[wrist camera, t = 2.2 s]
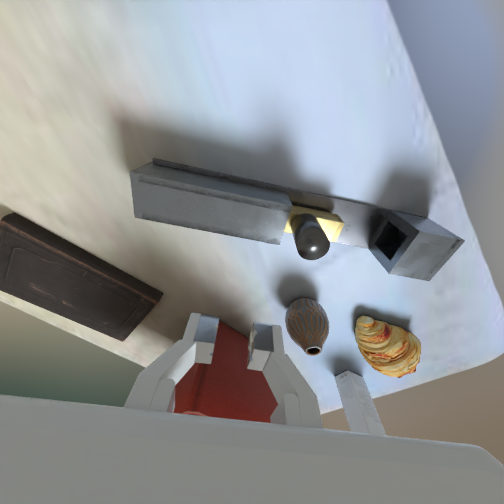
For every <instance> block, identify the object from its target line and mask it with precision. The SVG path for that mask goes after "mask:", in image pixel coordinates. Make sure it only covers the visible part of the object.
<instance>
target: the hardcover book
mask: <svg viewBox="0 0 504 504" xmlns="http://www.w3.org/2000/svg"><path fill="white" fill-rule="evenodd" d="M0 290H1V291H3V292H6V293H8V294H11V295H13V296H15V297H18V298H20V299H22V300H25V301H27V302H30V303H32V304H34V305H37V306H39V307H41V308H44V309H46V310H49V311H51V312H53V313H56V314H58V315H60V316H63V317H65V318H68V319H70V320H72V321H75V322H77V323H80V324H82V325H84V326H87V327H89V328H91V329H94V330H96V331H99V332H101V333H103V334H106V335H108V336H110V337H113V338H115V339H118V340H120V341H122V342H123V341H124V340H125V339H126V338H127V337H128V336H129V334H130V333H131V332H132V331H133V330H134V329H135V328H136V327H137V326H138V324H139V323H140V322H141V321H142V320H143V319H144V318H145V317H146V315H147V314H148V313H149V312H150V311H151V310H152V309H153V308H154V306H155V305H156V304H157V303H158V302H159V300H160V299H161V297H162V295H163V293H162V292H160V291H158V290H156V289H155V288H153V287H151V286H149V285H147V284H145V283H144V282H142V281H140V280H138V279H136V278H134V277H132V276H131V275H129V274H127V273H125V272H123V271H121V270H119V269H118V268H116V267H114V266H112V265H110V264H108V263H107V262H105V261H103V260H101V259H99V258H97V257H95V256H94V255H92V254H90V253H88V252H86V251H84V250H83V249H81V248H79V247H77V246H75V245H73V244H71V243H70V242H68V241H66V240H64V239H62V238H60V237H59V236H57V235H55V234H53V233H51V232H49V231H47V230H46V229H44V228H42V227H40V226H38V225H36V224H34V223H33V222H31V221H29V220H27V219H25V218H23V217H22V216H20V215H18V214H16V213H11V214H9V215H6V216H5V217H3V218H2V219H1V221H0Z"/></svg>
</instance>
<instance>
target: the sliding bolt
mask: <svg viewBox="0 0 504 504" xmlns="http://www.w3.org/2000/svg"><path fill="white" fill-rule="evenodd" d="M344 224H345V223H344V222H343V220H342V219H341V218H340V217H339V215H338V214H332V213H327V212H323V211H318V210H313V209H308V208H304V207H299V206H294V205H292V209H291V212H290V215H289V218H288V221H287V224H286V227H285V230H284V232H287V233H293V237H294V240H295V244H296V247H297V250H298V253H299V255H300V256H301V257H302V258H304V259H307V260H316V259H319V258H321V257H323V256H324V255H325V254H326V253H327V252H328V250H329V247H330V242H329V241H332V242H336V240H337V238H338V236H339V234H340V232H341V230H342V228H343V226H344Z"/></svg>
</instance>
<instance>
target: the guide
mask: <svg viewBox="0 0 504 504" xmlns="http://www.w3.org/2000/svg"><path fill="white" fill-rule="evenodd" d="M152 160H153V163H152V162H151V163H148V164H146V165H144V166H142V167H140V168H137V169H135V170H133V171H131V172H130V178H131V187H132V196H133V205H134V214H135V218H140V219H145V220H151V221H156V222H161V223H166V224H172V225H177V226H182V227H187V228H193V229H198V230H203V231H208V232H214V233H219V234H224V235H229V236H235V237H240V238H245V239H250V240H256V241H261V242H266V243H271V244H277V245H280V242H281V239H282V236H283V233H284V230H285V227H286V224H287V221H288V218H289V215H290V212H291V209H292V205H294V206H299V207H304V208H308V209H313V210H318V211H323V212H327V213H332V214H338V215H339V217H340V218H341V219H342V220H343V222H344V223H345V224H344V226H343V228H342V230H341V232H340V234H339V236H338V238H337V240H336V242H337V243H342V244H347V245H352V246H357V247H362V248H367V249H369V250H370V251H371V252H372V254H373V255H374V256H375V257H376V258H377V260H378V261H379V262H380V263H381V265H382V266H383V267H384V268H385V269H386V271H387V272H388V273H389V274H394V275H399V276H404V277H410V278H415V279H421V280H426V281H430V280H431V278H432V277H433V276H434V275H435V274H436V273H437V272H438V271H439V270H440V268H441V267H442V266H443V265H444V264H445V263H446V262H447V261H448V259H449V258H450V257H451V256H452V255H453V254H454V253H455V252H456V250H457V249H458V248H459V247H460V246H461V245H462V244H463V243H464V241H465V240H463V239H461V238H460V237H458V236H456V235H455V234H453V233H452V232H450V231H448V230H447V229H445V228H443V227H442V226H440V225H438V224H437V223H435V222H433V221H432V220H430V219H429V218H425V217H420V216H416V215H411V214H406V213H402V212H397V211H393V210H388V209H384V208H379V207H374V206H370V205H365V204H361V203H356V202H351V201H347V200H342V199H338V198H333V197H328V196H324V195H319V194H315V193H310V192H305V191H301V190H296V189H292V188H287V187H282V186H278V185H273V184H269V183H264V182H259V181H255V180H250V179H246V178H241V177H237V176H232V175H227V174H223V173H218V172H214V171H209V170H204V169H200V168H195V167H191V166H186V165H181V164H177V163H172V162H168V161H163V160H158V159H154V158H153V159H152ZM286 233H287V232H286ZM291 234H293V233H291ZM331 242H332V241H331Z"/></svg>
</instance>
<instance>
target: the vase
mask: <svg viewBox="0 0 504 504" xmlns="http://www.w3.org/2000/svg"><path fill="white" fill-rule="evenodd" d="M285 322H286V328H287V331H288V333H289V335H290V337H291V339H292V340H293V341H294V342H295V343H296V344H297V345H298V346H300V347H301V348H302V349H303V350H304V352H305V353H306V354H307V355H310V356H315V355H318V354H320V353H321V351H322V346H323V344H324V342H325V341H326V339H327V336H328V333H329V321H328V318H327V315H326V313H325V311H324V309H323V308H322V306H321V305H320V304H319V303H318V302H316V301H314V300H312V299H309V298H300V299H297V300H295V301H294V302H292V303H291V304H290V306H289V307H288V309H287V312H286V317H285Z"/></svg>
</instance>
